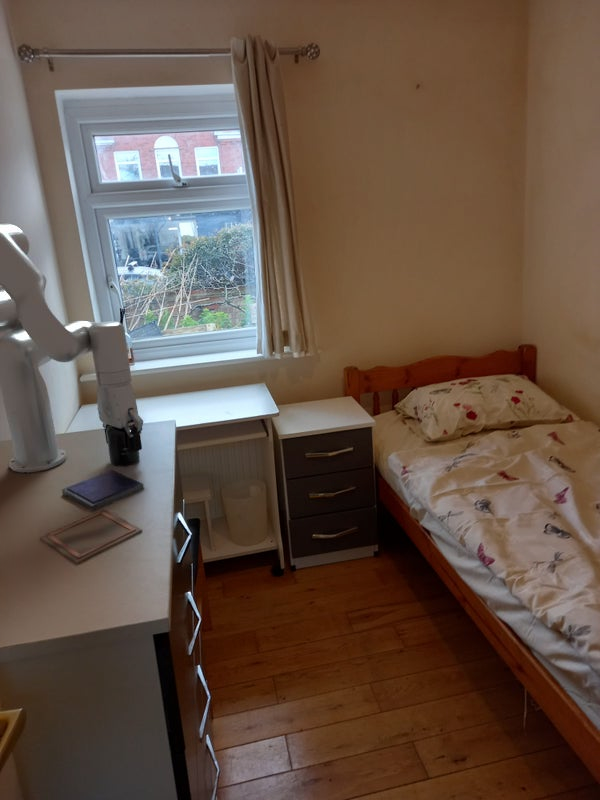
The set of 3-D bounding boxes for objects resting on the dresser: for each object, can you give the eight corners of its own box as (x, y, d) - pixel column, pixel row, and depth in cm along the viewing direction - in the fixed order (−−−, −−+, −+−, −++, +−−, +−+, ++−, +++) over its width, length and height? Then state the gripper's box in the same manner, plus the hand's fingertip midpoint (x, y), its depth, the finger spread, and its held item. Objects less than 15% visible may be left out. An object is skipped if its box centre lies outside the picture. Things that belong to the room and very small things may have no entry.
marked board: (40, 539, 103) (39, 536, 103) (103, 510, 112) (103, 507, 112) (77, 564, 95) (76, 561, 95) (142, 531, 104) (142, 528, 104)
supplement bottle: (131, 468, 131) (125, 419, 128) (105, 466, 133) (97, 418, 129) (145, 456, 138) (139, 409, 134) (119, 454, 139) (112, 408, 135)
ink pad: (62, 494, 120) (61, 488, 119) (112, 474, 128) (111, 468, 128) (93, 511, 112) (91, 504, 112) (143, 488, 121) (143, 482, 120)
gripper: (78, 374, 131) (90, 443, 137) (121, 386, 121) (131, 460, 126) (107, 367, 137) (117, 434, 142) (150, 378, 126) (159, 449, 131)
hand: (124, 446), depth 134 cm, fingers open, 8 cm apart
